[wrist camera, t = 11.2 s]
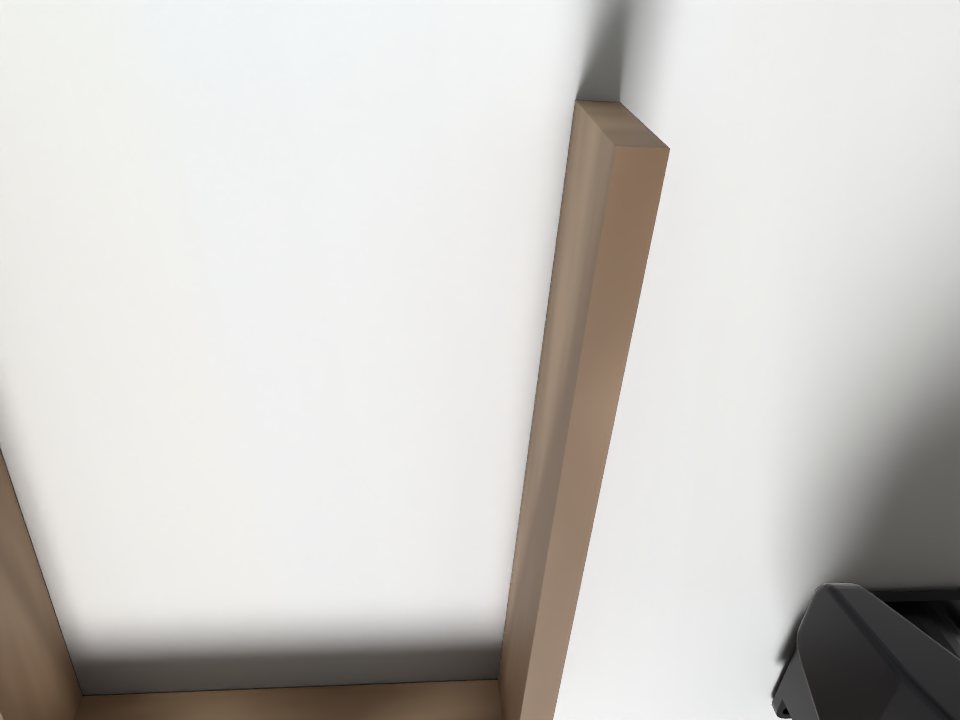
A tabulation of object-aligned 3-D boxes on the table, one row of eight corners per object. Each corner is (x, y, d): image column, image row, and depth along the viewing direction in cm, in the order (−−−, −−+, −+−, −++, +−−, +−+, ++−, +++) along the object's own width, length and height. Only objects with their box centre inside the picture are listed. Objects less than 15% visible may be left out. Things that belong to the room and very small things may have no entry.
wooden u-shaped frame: (620, 102, 16) (670, 148, 13) (522, 695, 27) (537, 793, 24) (-186, 59, 14) (-337, 101, 11) (57, 715, 25) (12, 824, 22)
